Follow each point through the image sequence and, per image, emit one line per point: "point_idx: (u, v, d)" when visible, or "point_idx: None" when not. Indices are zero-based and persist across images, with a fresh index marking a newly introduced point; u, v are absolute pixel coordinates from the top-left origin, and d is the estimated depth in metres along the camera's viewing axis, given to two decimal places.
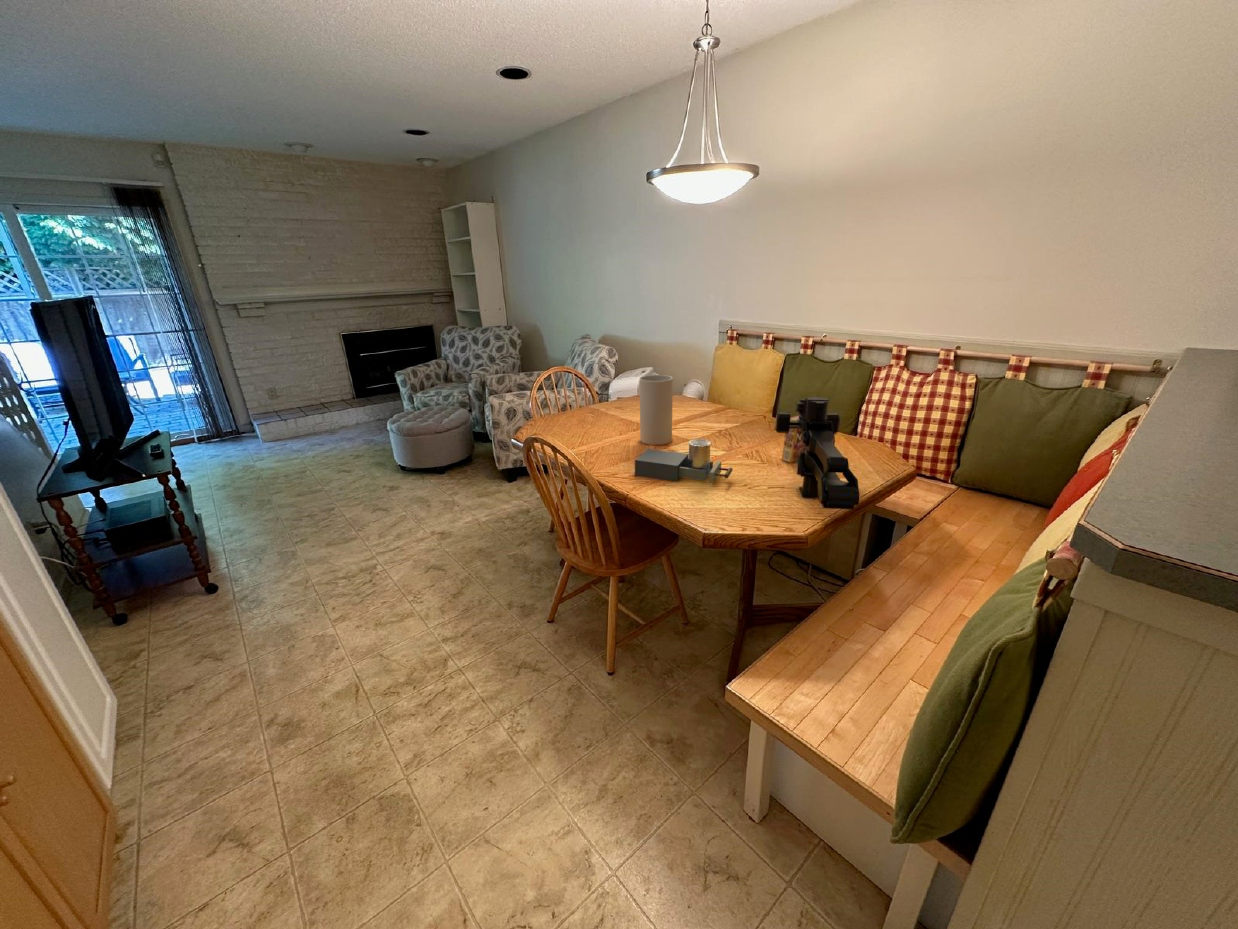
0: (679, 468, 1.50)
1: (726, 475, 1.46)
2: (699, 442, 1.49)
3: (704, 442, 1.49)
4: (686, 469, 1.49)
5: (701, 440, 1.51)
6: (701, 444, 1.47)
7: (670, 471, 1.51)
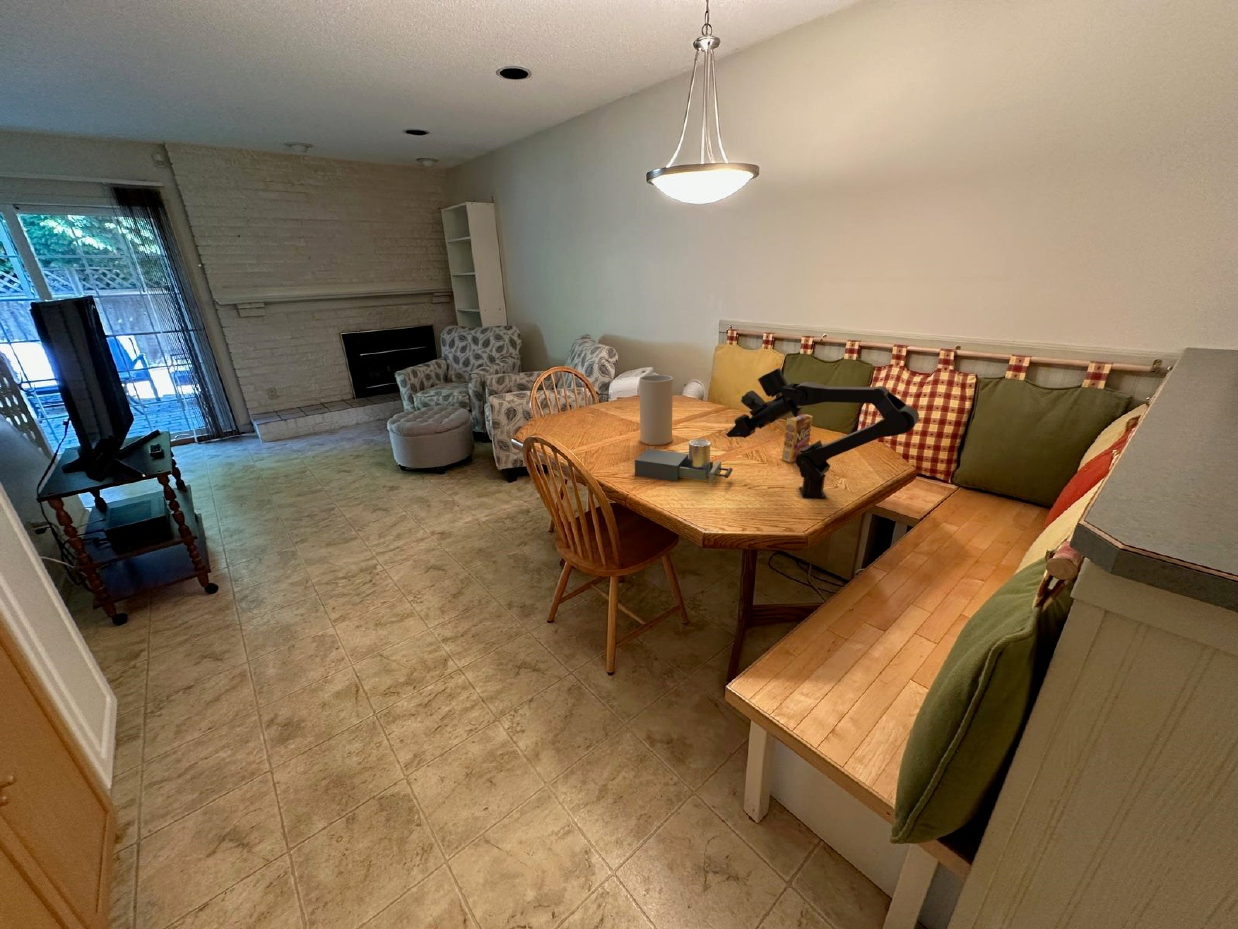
0: (679, 468, 1.50)
1: (726, 475, 1.46)
2: (699, 442, 1.49)
3: (704, 442, 1.49)
4: (686, 469, 1.49)
5: (701, 440, 1.51)
6: (701, 444, 1.47)
7: (670, 471, 1.51)
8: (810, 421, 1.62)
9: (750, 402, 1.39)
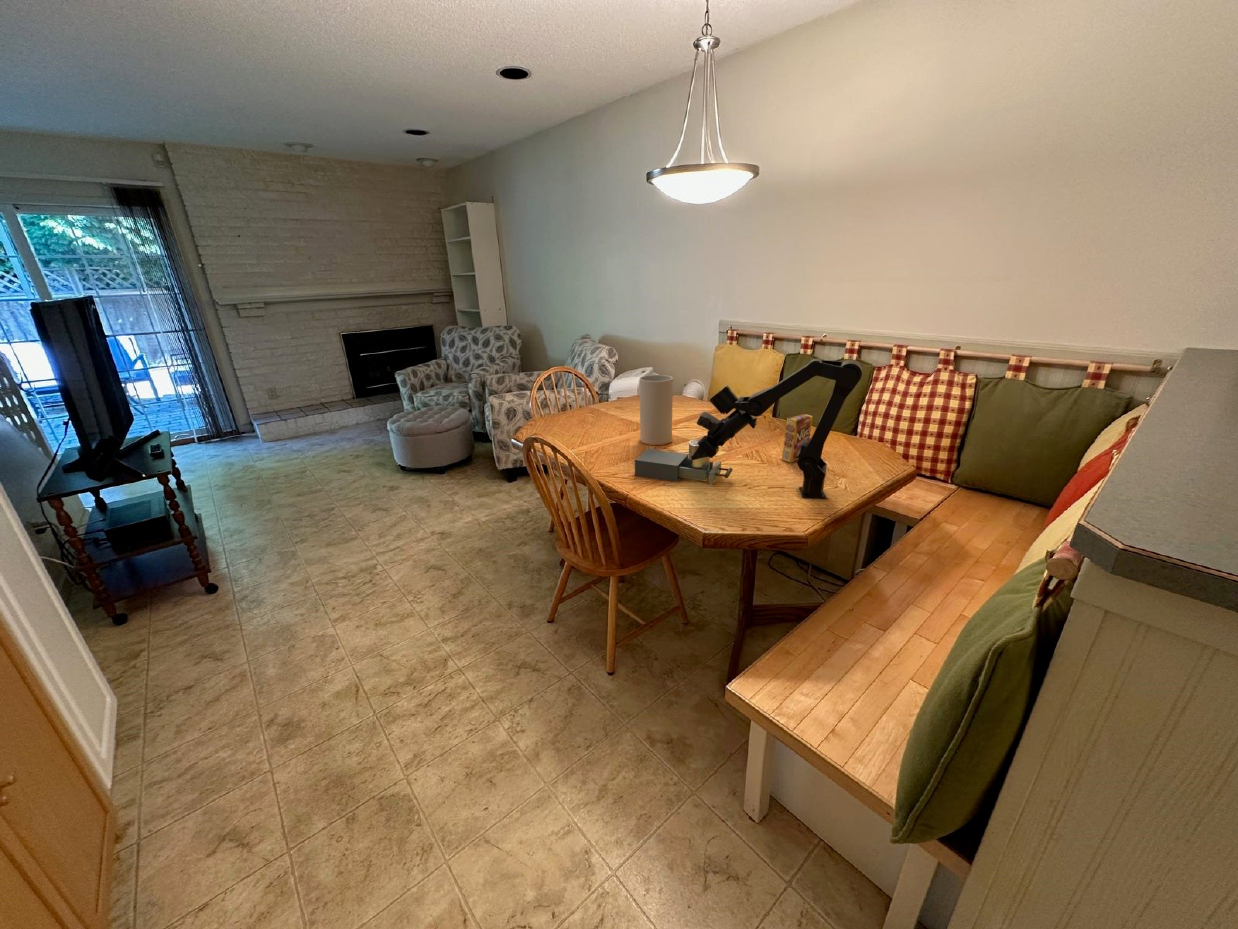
0: (679, 468, 1.50)
1: (726, 475, 1.46)
2: None
3: None
4: (686, 469, 1.49)
5: None
6: None
7: (670, 471, 1.51)
8: (810, 421, 1.62)
9: (707, 423, 1.41)
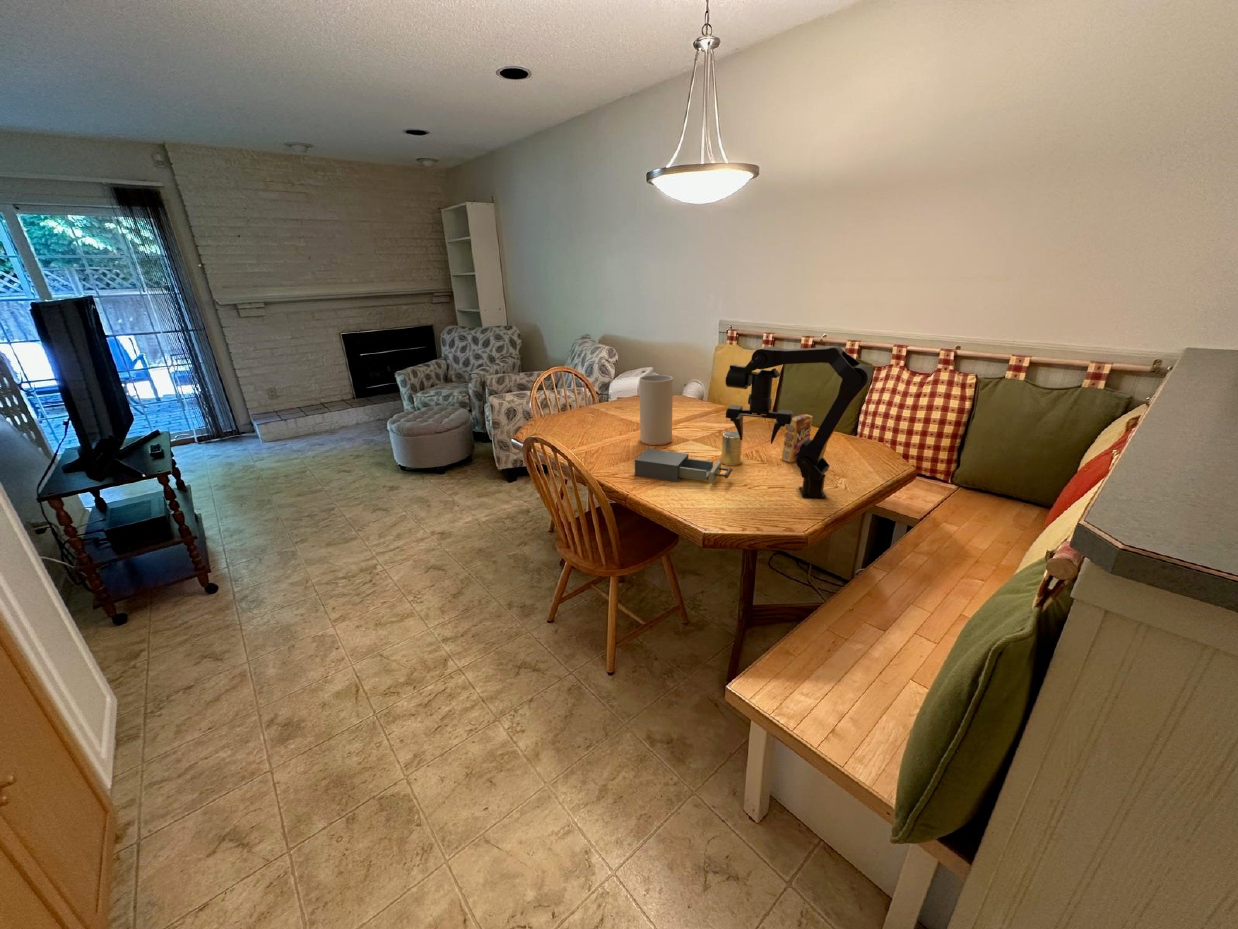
0: (679, 468, 1.50)
1: (726, 475, 1.46)
2: (732, 434, 1.62)
3: (736, 435, 1.61)
4: (686, 469, 1.49)
5: (736, 433, 1.63)
6: (730, 436, 1.60)
7: (670, 471, 1.51)
8: (810, 421, 1.62)
9: None
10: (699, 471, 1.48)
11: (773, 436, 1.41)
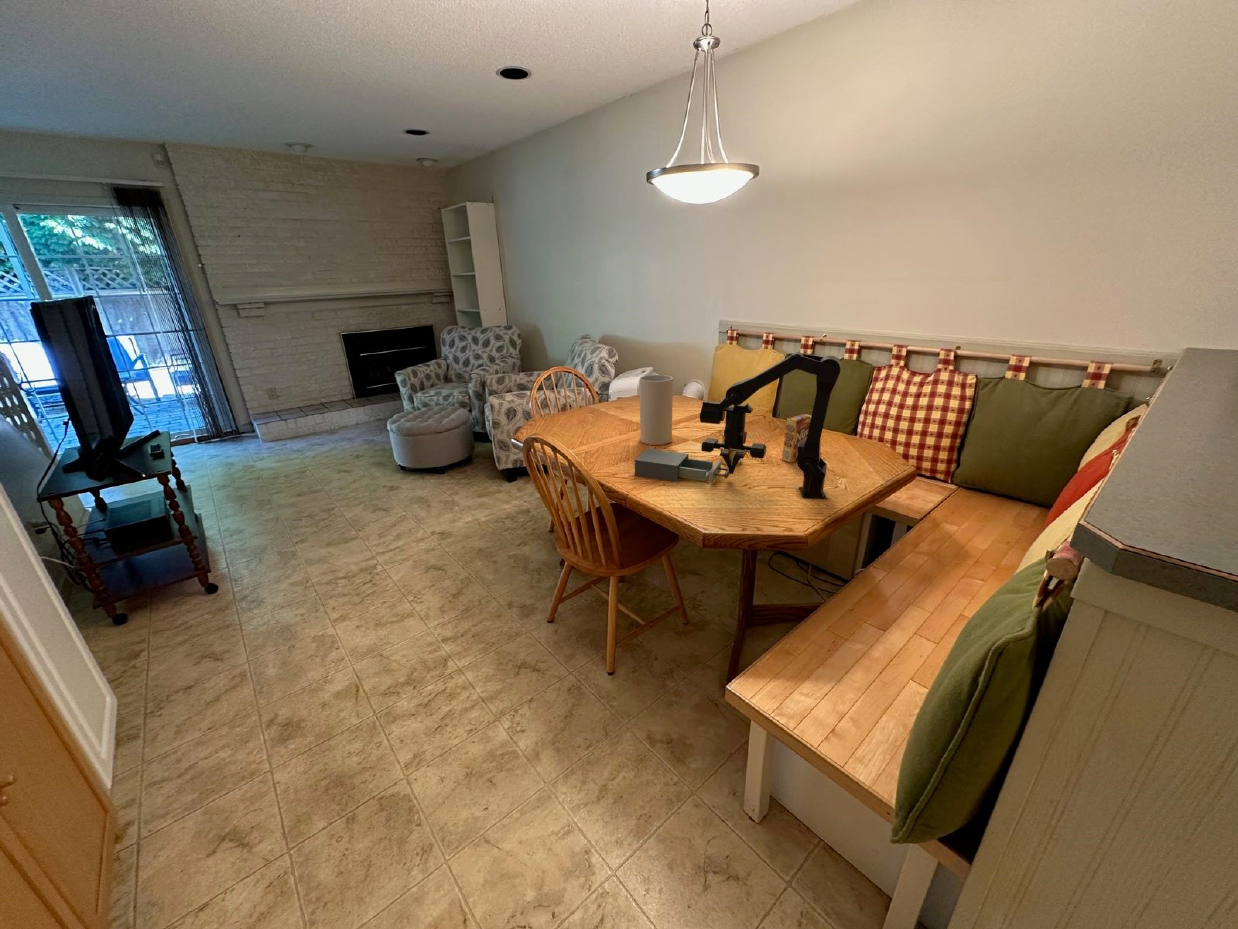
0: (679, 468, 1.50)
1: (726, 475, 1.46)
2: None
3: None
4: (686, 469, 1.50)
5: None
6: None
7: (670, 471, 1.51)
8: None
9: (724, 430, 1.50)
10: (699, 471, 1.48)
11: (733, 467, 1.46)
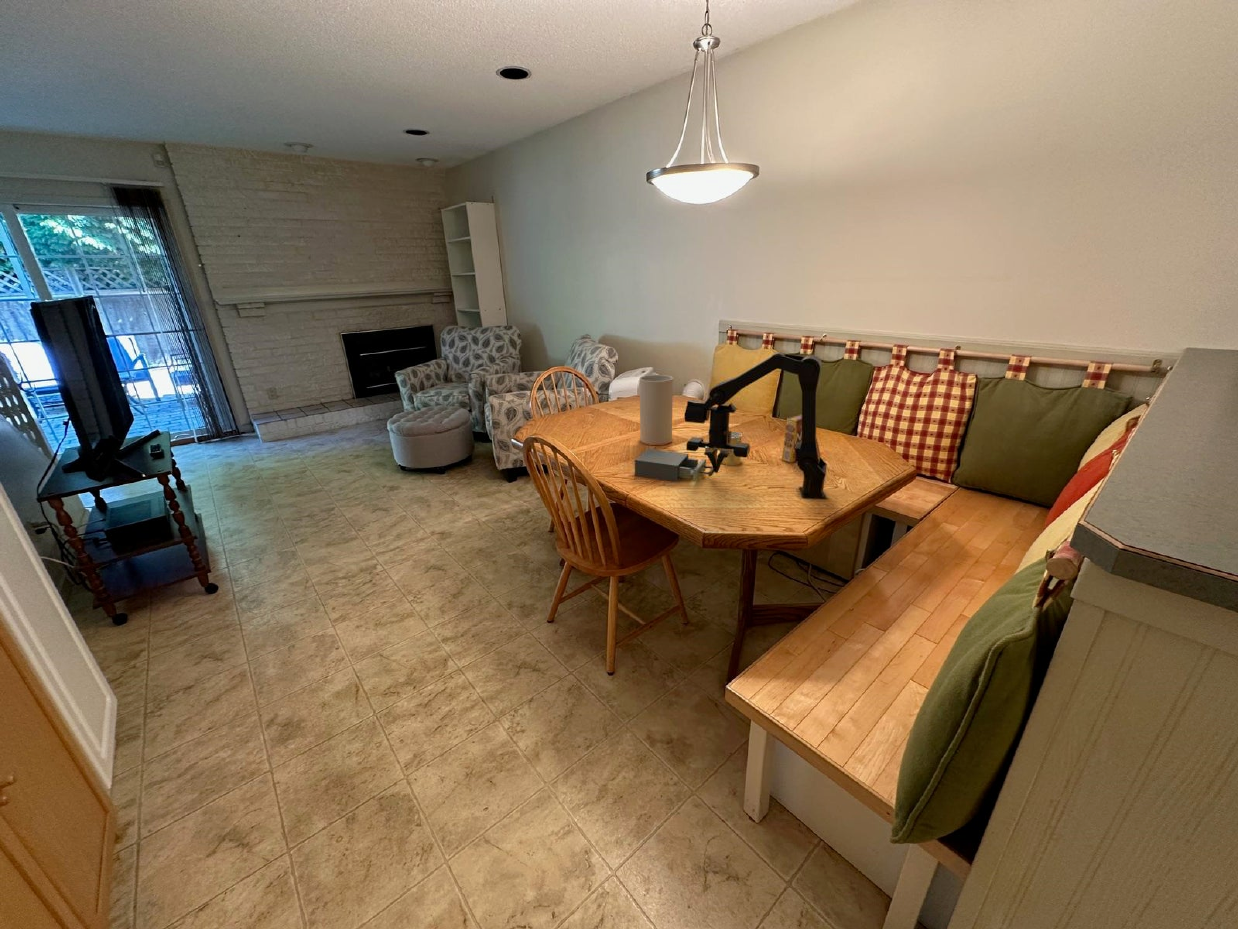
0: None
1: (710, 473, 1.48)
2: (732, 434, 1.62)
3: (736, 435, 1.61)
4: None
5: (736, 433, 1.63)
6: None
7: (670, 471, 1.51)
8: None
9: None
10: (683, 469, 1.50)
11: (718, 466, 1.48)
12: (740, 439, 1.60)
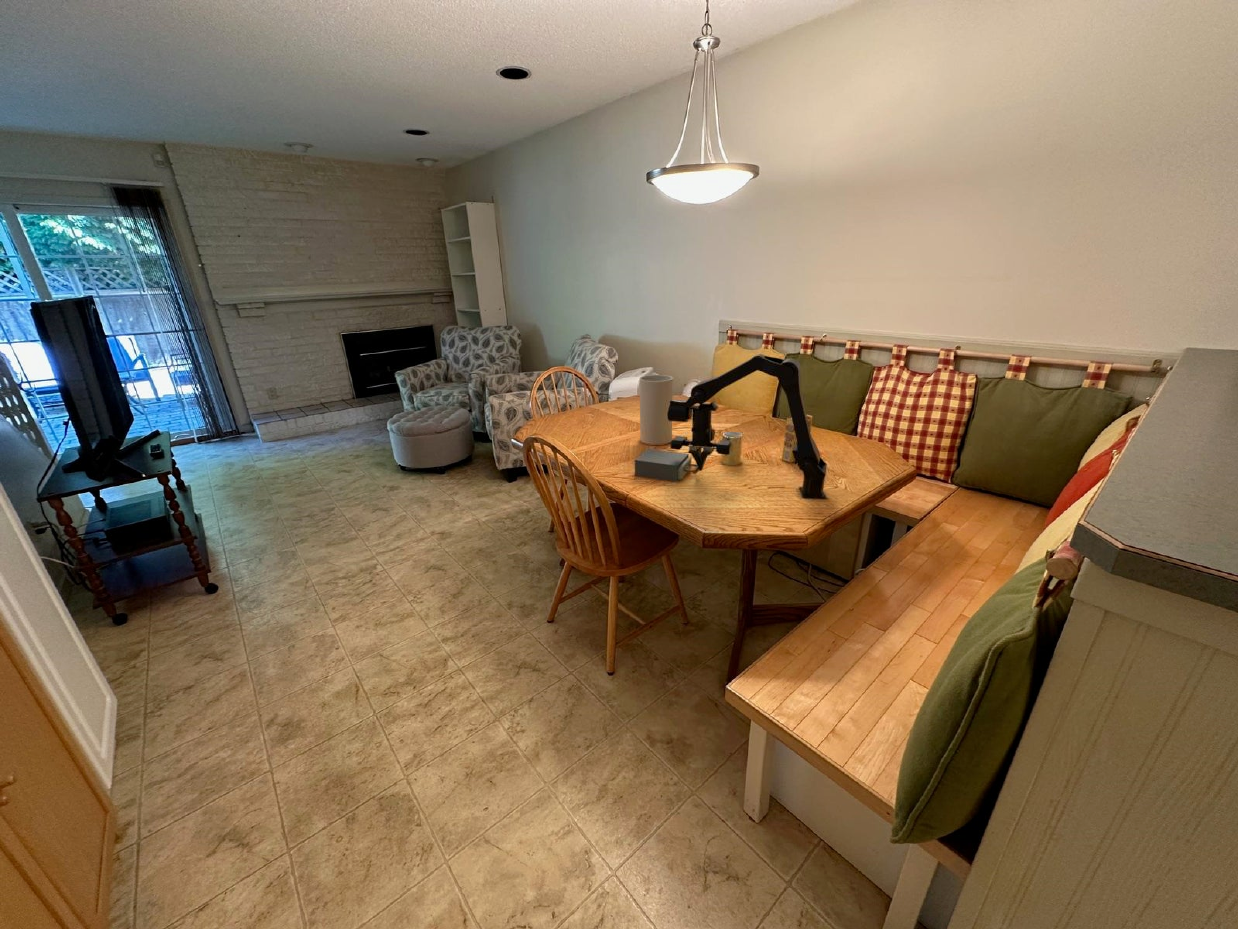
0: None
1: (694, 471, 1.50)
2: (732, 434, 1.62)
3: (736, 435, 1.61)
4: None
5: (736, 433, 1.63)
6: (730, 436, 1.60)
7: (670, 471, 1.51)
8: (810, 421, 1.62)
9: None
10: None
11: (701, 464, 1.50)
12: (740, 439, 1.60)
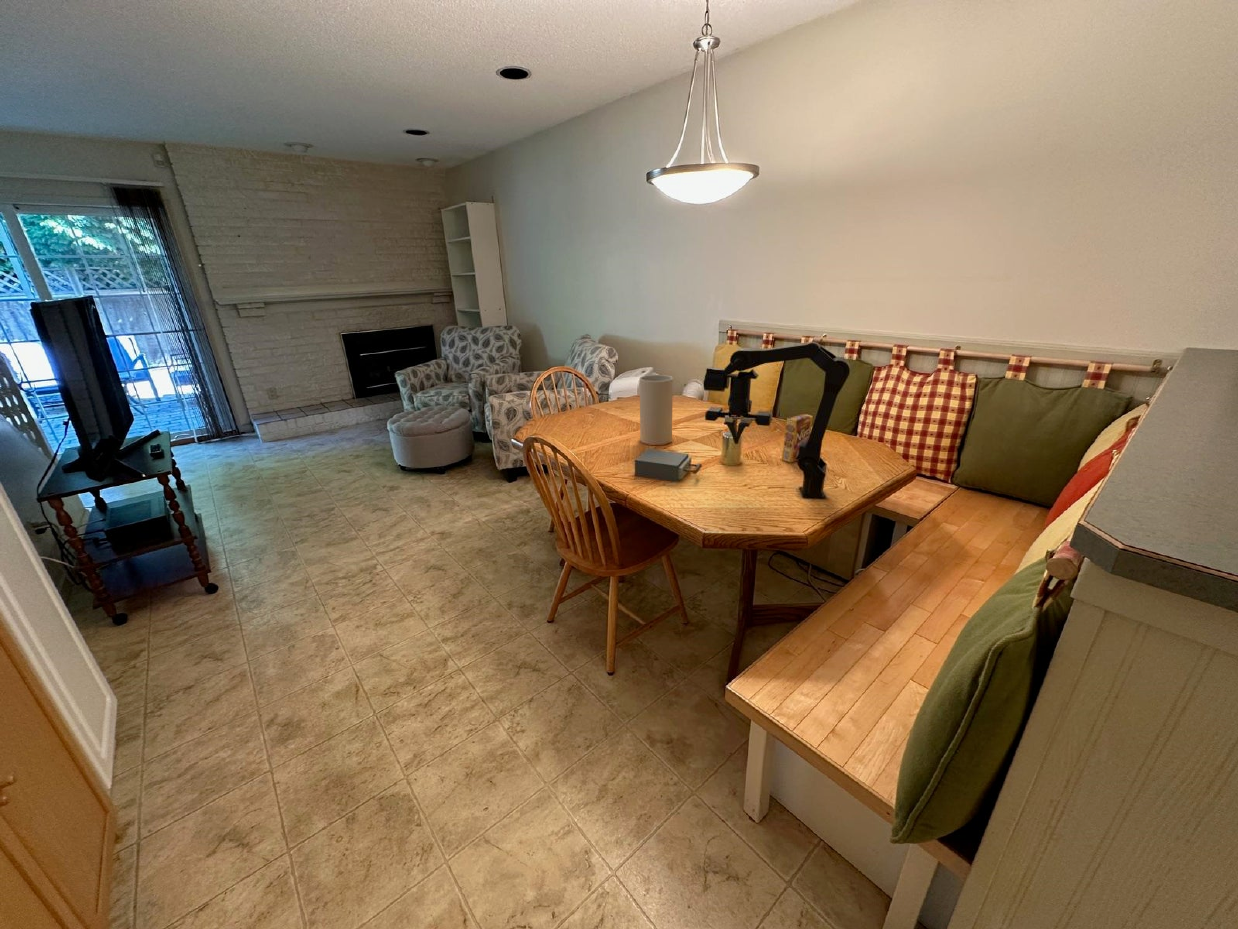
0: None
1: (694, 471, 1.50)
2: None
3: None
4: None
5: None
6: (730, 436, 1.60)
7: (670, 471, 1.51)
8: (810, 421, 1.62)
9: (728, 399, 1.46)
10: None
11: (738, 436, 1.42)
12: (740, 439, 1.60)
